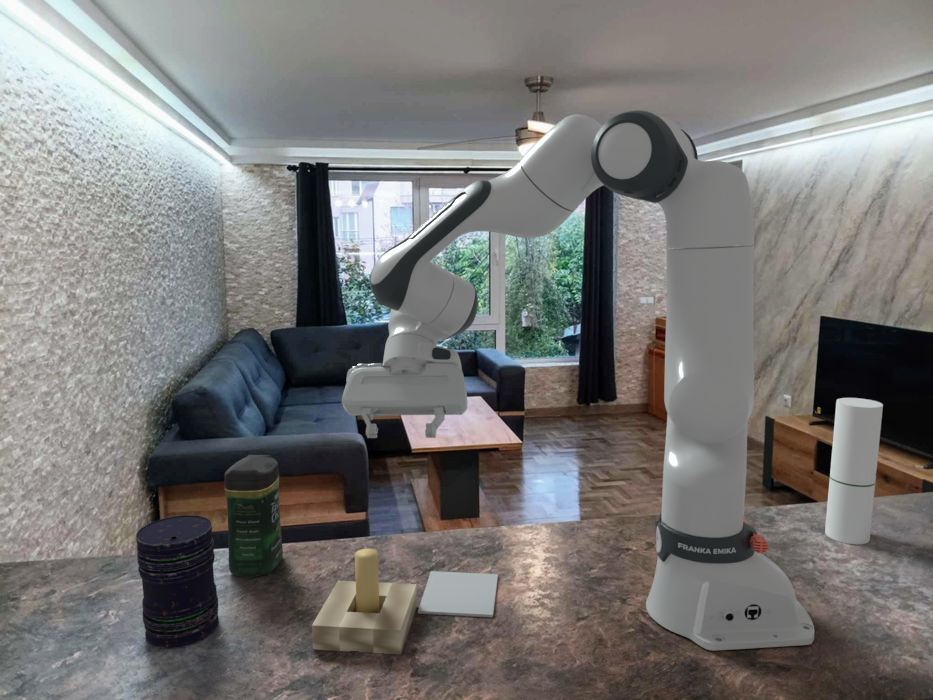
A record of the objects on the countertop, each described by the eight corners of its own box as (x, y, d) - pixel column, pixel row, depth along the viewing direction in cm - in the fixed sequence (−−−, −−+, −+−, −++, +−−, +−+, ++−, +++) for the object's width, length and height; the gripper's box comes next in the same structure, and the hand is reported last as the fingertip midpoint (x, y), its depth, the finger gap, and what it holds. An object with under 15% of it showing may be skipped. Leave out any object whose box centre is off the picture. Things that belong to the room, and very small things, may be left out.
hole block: (417, 605, 102) (416, 584, 102) (400, 654, 90) (400, 630, 90) (338, 601, 103) (337, 580, 103) (313, 649, 92) (311, 625, 91)
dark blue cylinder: (147, 617, 100) (138, 520, 97) (219, 604, 103) (212, 510, 101) (141, 656, 90) (131, 550, 88) (220, 640, 94) (212, 538, 91)
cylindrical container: (870, 532, 126) (883, 400, 122) (868, 547, 120) (882, 409, 116) (826, 524, 130) (838, 396, 125) (823, 538, 124) (834, 404, 119)
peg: (382, 620, 98) (380, 549, 97) (376, 633, 95) (374, 559, 93) (360, 619, 99) (358, 548, 97) (354, 632, 96) (352, 558, 94)
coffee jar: (272, 580, 110) (265, 470, 107) (223, 579, 110) (215, 469, 107) (289, 552, 120) (283, 450, 117) (244, 552, 120) (237, 450, 117)
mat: (497, 576, 111) (497, 574, 111) (492, 617, 99) (492, 614, 99) (430, 573, 112) (430, 571, 112) (418, 613, 100) (417, 610, 100)
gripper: (344, 353, 113) (330, 426, 105) (467, 351, 111) (462, 425, 103) (353, 374, 118) (340, 445, 110) (470, 373, 116) (466, 445, 108)
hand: (400, 436), depth 107 cm, fingers open, 8 cm apart
